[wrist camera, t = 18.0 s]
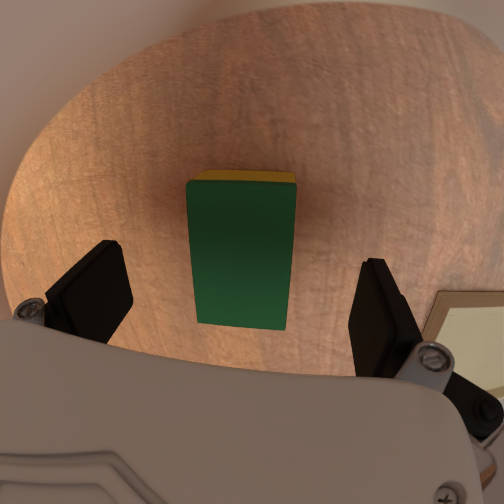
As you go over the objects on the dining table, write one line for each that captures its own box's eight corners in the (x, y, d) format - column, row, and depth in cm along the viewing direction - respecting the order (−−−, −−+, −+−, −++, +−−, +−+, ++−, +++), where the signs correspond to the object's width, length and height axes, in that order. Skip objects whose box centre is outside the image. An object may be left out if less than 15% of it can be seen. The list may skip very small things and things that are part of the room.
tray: (438, 290, 18) (449, 308, 16) (558, 290, 16) (569, 302, 14) (386, 403, 23) (390, 420, 22) (505, 384, 22) (511, 396, 20)
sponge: (204, 169, 16) (185, 183, 13) (295, 172, 16) (296, 186, 12) (211, 290, 20) (197, 323, 17) (286, 295, 19) (285, 331, 16)
